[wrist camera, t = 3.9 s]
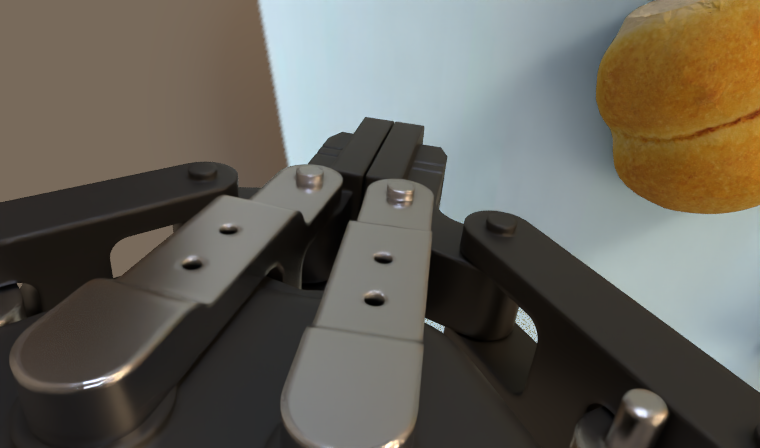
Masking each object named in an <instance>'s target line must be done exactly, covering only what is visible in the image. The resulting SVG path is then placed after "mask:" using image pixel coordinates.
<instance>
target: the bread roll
mask: <svg viewBox="0 0 760 448" xmlns="http://www.w3.org/2000/svg"><path fill="white" fill-rule="evenodd" d="M596 101H597V105H598V109H599V112H600V115H601V116H602V118H603V120H604V122H605V123H606V124H607V125H608V126H609V127H610V130H611V133H612V137H613V159H614V166H615V169H616V171H617V173H618V176H619V178H620V179H621V180H622V181H623V182H624V184H625V185H626V186H627V187H628V188H630V189H631V190H632V191H633V192H635V193H636V194H637V195H639V196H641V197H643V198H645V199H646V200H648V201H650V202H652V203H655V204H657V205H659V206H661V207H663V208H666V209H671V210H675V211H681V212H689V213H700V214H720V213H729V212H736V211H741V210H745V209H749V208H752V207H755V206H758V205H760V0H655V1H652V2H649V3H647V4H646V5H643V6H640V7H638V8H637V9H635V10H634V11H633V12H631V13H630V14H629V15H628V16H627V17H626V18H625V20H624V22H623V24H622V26H621V28H620V30H619V32H618V34H617V36H616V37H615V39H614V40H613V41H612V43H611V44H610V46H609V47H608V49H607V51H606V52H605V54H604V56H603V58H602V60H601V63H600V65H599V69H598V74H597V85H596Z"/></svg>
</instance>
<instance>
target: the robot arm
mask: <svg viewBox="0 0 760 448" xmlns="http://www.w3.org/2000/svg"><path fill="white" fill-rule="evenodd" d="M423 137H424V126H421V125H415V124H408V123H402V122H395V124H394V121H388V120H382V119H375V118H369V117H365V118H364V120H363V121H362V122H361V124H360V125H359V127H358V128H357V130H356V131H355V132H354V134H352V133H346V132H341V133H339V134H336V135H334V136H332V137H329V138H328V139H327V141H326V142H325V143H324V144H323V146H322V147H321V148H320V149H319V151H318V152H317V154H315V156H314V157H313V158H312V159H311V161H310V162H309V163H308V164H302V165H294V166H290V167H287V168H284V169H282V170H281V171H279V172H278V173H277V174H276V175H275V176H274V177H273V178H272V179H271V180H270V181H269V182H267V183H266V184H265V185H264V186H263V187H262V188H241V187H238V173H237V172H236V170H235V169H233V168H232V167H230V166H228V165H225V164H221V163H215V162H194V163H188V164H183V165H178V166H173V167H169V168H164V169H159V170H154V171H149V172H145V173H140V174H135V175H130V176H126V177H121V178H116V179H111V180H106V181H102V182H97V183H92V184H87V185H82V186H77V187H73V188H68V189H63V190H58V191H54V192H49V193H44V194H39V195H35V196H29V197H24V198H20V199H15V200H10V201H5V202H0V448H760V393H759V392H758V391H757V390H755V389H754V388H753V387H751V386H750V385H748V384H747V383H746V382H744V381H743V380H742V379H740V378H739V377H738V376H736V375H735V374H734V373H732V372H731V371H729V370H728V369H727V368H725V367H724V366H723V365H721V364H720V363H719V362H717V361H716V360H715V359H713V358H712V357H710V356H709V355H708V354H706V353H705V352H704V351H702V350H701V349H700V348H698V347H697V346H696V345H694V344H693V343H691V342H690V341H689V340H687V339H686V338H685V337H683V336H682V335H681V334H679V333H678V332H677V331H675V330H674V329H672V328H671V327H670V326H668V325H667V324H666V323H664V322H663V321H662V320H660V319H659V318H658V317H656V316H655V315H654V314H652V313H651V312H649V311H648V310H647V309H645V308H644V307H643V306H641V305H640V304H639V303H637V302H636V301H635V300H633V299H632V298H630V297H629V296H628V295H626V294H625V293H624V292H622V291H621V290H620V289H618V288H617V287H616V286H614V285H613V284H611V283H610V282H609V281H607V280H606V279H605V278H603V277H602V276H601V275H599V274H598V273H597V272H595V271H594V270H592V269H591V268H590V267H588V266H587V265H586V264H584V263H583V262H582V261H580V260H579V259H578V258H576V257H575V256H573V255H572V254H571V253H569V252H568V251H567V250H565V249H564V248H563V247H561V246H560V245H559V244H557V243H556V242H554V241H553V240H552V239H550V238H549V237H548V236H546V235H545V234H544V233H542V232H541V231H540V230H538V229H537V228H535V227H534V226H533V225H531V224H530V223H529V222H527V221H526V220H524V219H522V218H520V217H518V216H515V215H512V214H509V213H505V212H500V211H479V212H475V213H472V214H470V215H468V216H467V217H466V218H465V221H464V224H462V223H460V222H457V221H455V220H453V219H451V218H449V217H447V216H446V215H444V214H443V213H442V212H441V211H440V210H439V206H440V200H441V194H442V188H443V181H444V175H445V169H446V162H447V155H446V154H445V152H444V151H443V150H442V148H441V147H434V146H428V145H423ZM170 225H173V232H174V233H173V234H172V235H170V236H169V237H168V238H167V239H166V240H164V241H163V242H162V243H161V244H159V245H158V246H157V247H156V248H155V249H153V250H152V251H151V252H150V253H148V254H147V255H146V256H145V257H144V258H142V259H141V260H140V261H139V262H138V263H136V264H135V265H134V266H133V267H131V268H130V269H129V270H128V271H127V272H125V273H124V274H123V275H122V276H119V277H116V278H113V275H112V269H111V262H110V253H111V250H112V248H113V247H114V246H115V244H116V243H117V242H119V241H120V240H122V239H124V238H126V237H129V236H132V235H137V234H140V233H144V232H148V231H151V230H155V229H159V228H162V227H166V226H170ZM17 283H23V284H22V286H21V288H20V289H19V287H18V285H17ZM519 307H520V308H521V309H522V310H523V311H525V312H526V313H527V314H528V315H529V316H530V318H531V319H532V321H533V322H534V324H535V327H536V330H537V335H538V342H537V343H536V342H535V341H534V340H533V339H532V338H531V337H530V336H529V335H528V334H527V333H526V332H525V331H524V330H523V329H522V328H520V327H519V326H518V325H517V324H516V323H515V320H516V316H517V312H518V308H519ZM425 318H427V319H429V320H431V321H434V322H436V323H438V324H440V325H443V326H445V328H444V334H443V333H442V332H440V331H439V330H437V329H436V328H434V327H432V326H430V325H428V324H426V323H424V321H425Z"/></svg>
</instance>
